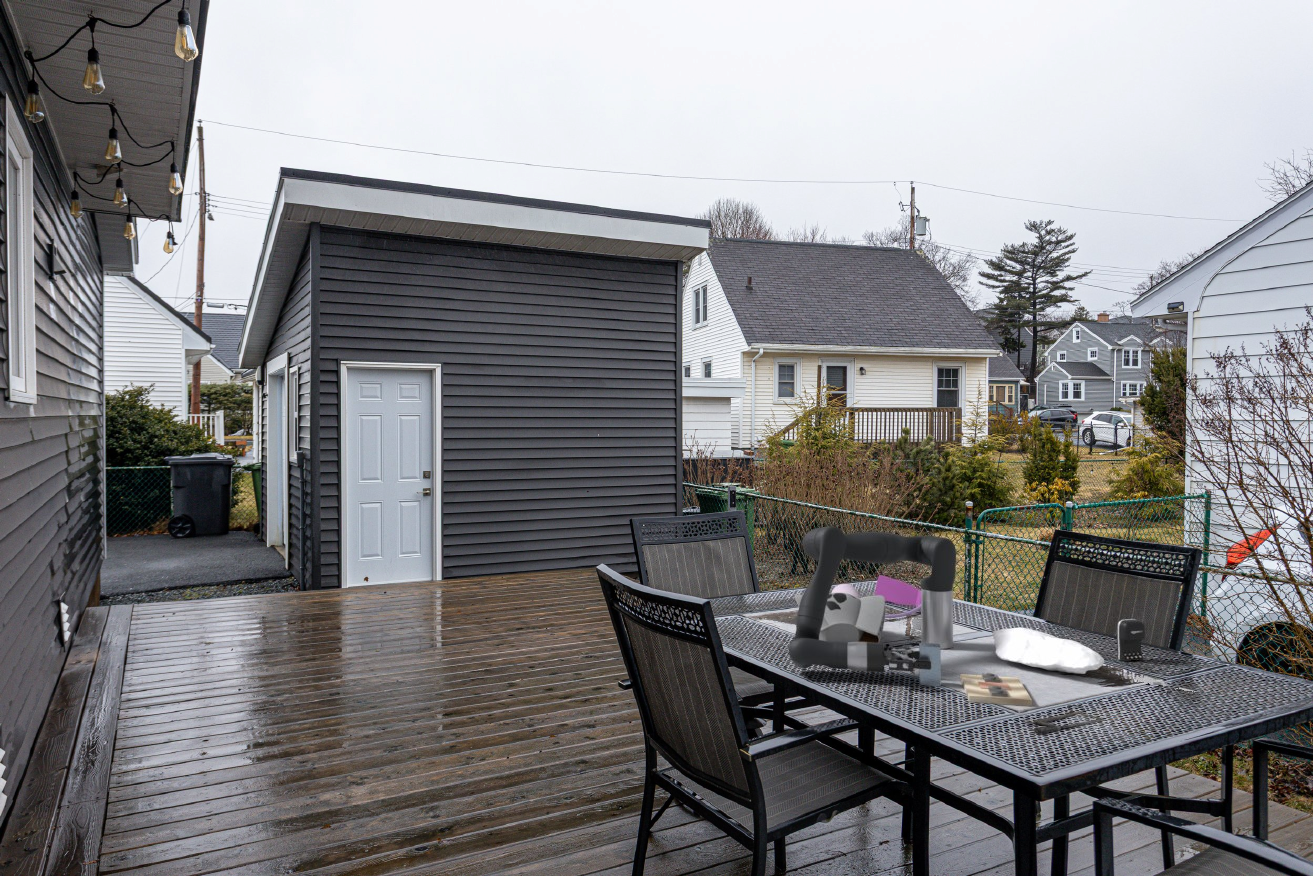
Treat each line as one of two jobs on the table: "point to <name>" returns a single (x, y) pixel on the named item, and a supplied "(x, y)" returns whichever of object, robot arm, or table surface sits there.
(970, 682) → the tan flat wooden board
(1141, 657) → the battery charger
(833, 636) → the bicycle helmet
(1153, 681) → the pliers
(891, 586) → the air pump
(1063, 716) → the hacksaw
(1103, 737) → the table surface
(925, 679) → the link block
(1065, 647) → the crumpled cloth
